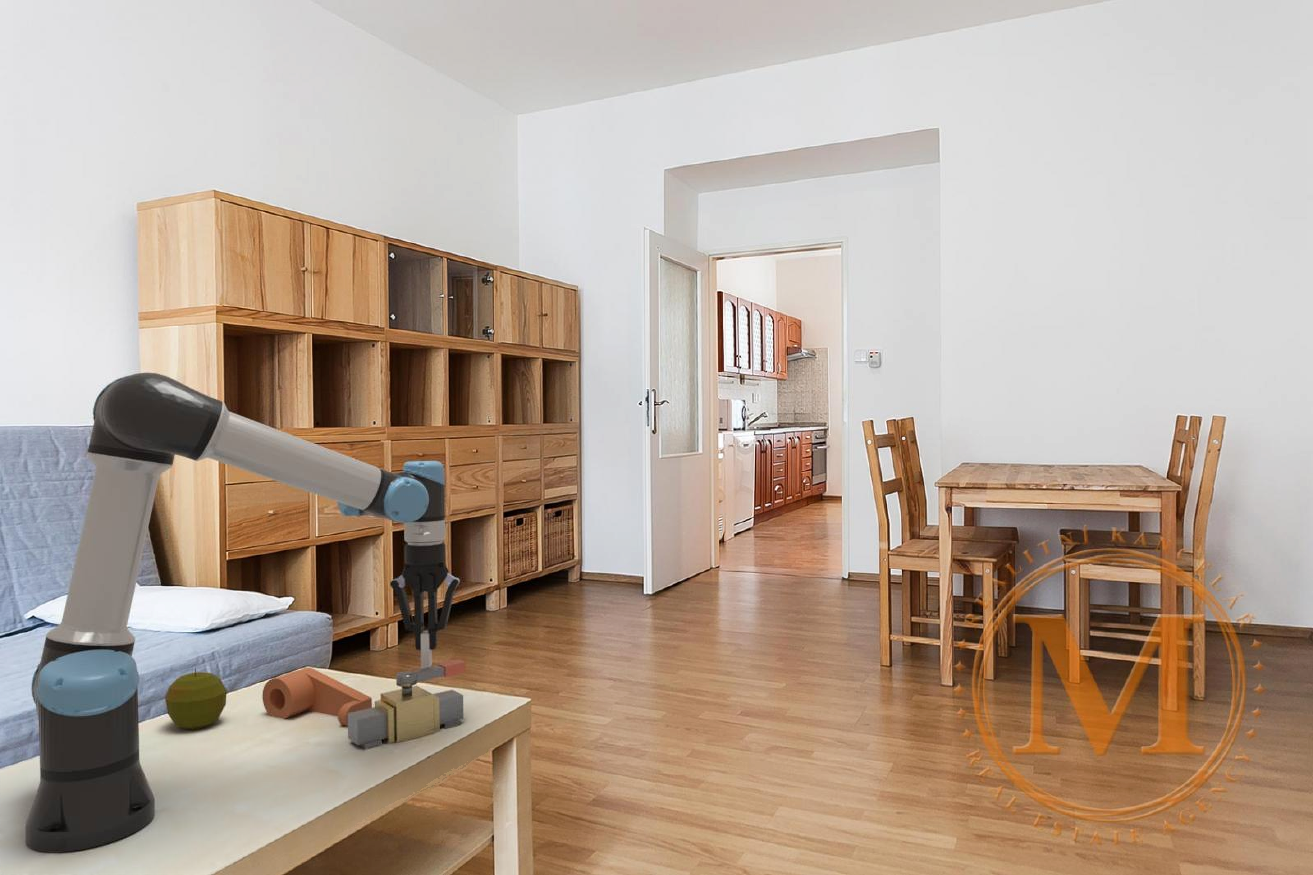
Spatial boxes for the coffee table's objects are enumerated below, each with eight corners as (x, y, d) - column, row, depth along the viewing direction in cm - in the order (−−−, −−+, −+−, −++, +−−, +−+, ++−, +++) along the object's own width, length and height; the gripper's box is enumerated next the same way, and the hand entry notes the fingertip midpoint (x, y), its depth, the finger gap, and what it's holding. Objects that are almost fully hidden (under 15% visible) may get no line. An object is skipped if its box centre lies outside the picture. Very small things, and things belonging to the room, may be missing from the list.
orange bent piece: (262, 717, 168) (262, 676, 168) (295, 704, 175) (295, 665, 175) (340, 732, 159) (339, 688, 159) (372, 718, 167) (371, 677, 166)
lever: (402, 688, 155) (402, 677, 155) (392, 683, 158) (392, 673, 158) (467, 672, 164) (467, 662, 164) (457, 668, 167) (457, 658, 167)
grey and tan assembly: (360, 751, 149) (359, 702, 149) (345, 740, 154) (344, 692, 154) (466, 724, 162) (466, 679, 161) (449, 715, 167) (448, 671, 167)
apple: (238, 719, 166) (236, 662, 166) (200, 737, 157) (199, 676, 156) (193, 716, 168) (192, 659, 168) (153, 733, 159) (152, 673, 159)
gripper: (385, 545, 161) (386, 673, 162) (456, 544, 162) (457, 671, 162) (394, 540, 169) (396, 661, 169) (463, 539, 169) (464, 660, 170)
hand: (426, 666), depth 166 cm, fingers closed
